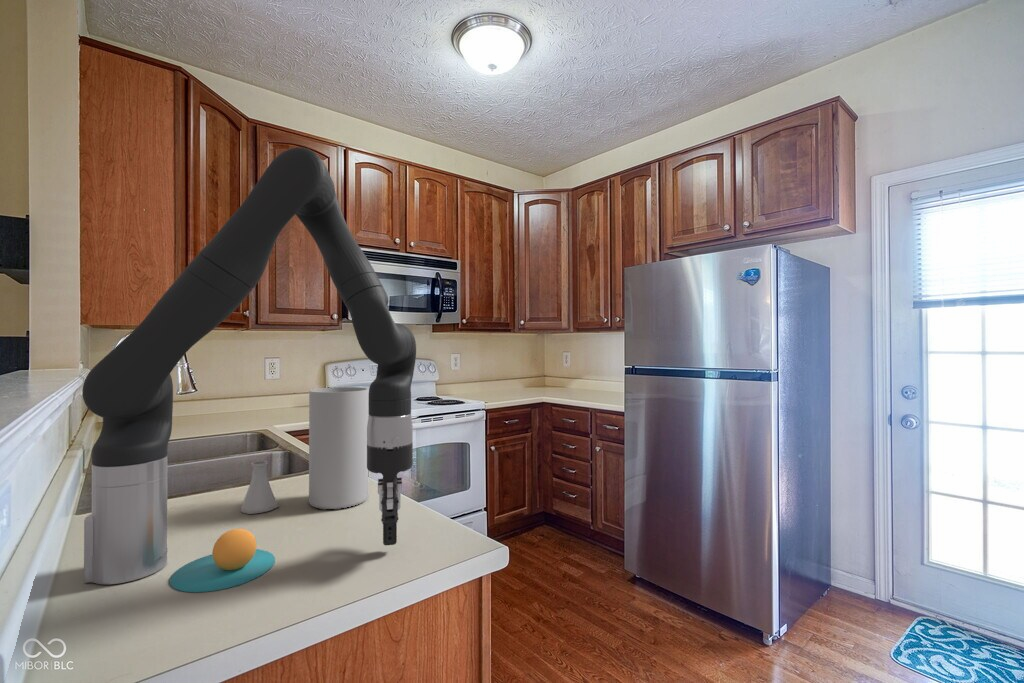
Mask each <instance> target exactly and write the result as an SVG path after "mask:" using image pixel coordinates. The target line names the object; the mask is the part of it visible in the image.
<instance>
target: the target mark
mask: <svg viewBox="0 0 1024 683" xmlns="http://www.w3.org/2000/svg"><path fill="white" fill-rule="evenodd" d="M275 560H276V558H275V555H274V553H273V554H272V552H269V550H268V551H267V550H264V549H260V548H259V549H257V548H256V552H255V554H254V556H253V558H252V559H251V560H250V562H249V563H247V564H246V565H245V566H243V567H241V568H239V569H236V570H224V569H222V568H220V567H218V566H217V565H216V563H215V562H214V560H213V556H212V554H208V555H205V556H202V557H200V558H197V559H195V560H193V561H190V562H188V563H186V564H184V565H182V566H181V567H179V568H178V569H177V570H175V571H174V573H173V574H172V575H171V576H170V578H169V584H170V586H171V588H173V589H174V590H176V591H180V592H185V593H208V592H214V591H215V592H217V591H220V590H221V591H222V590H226V589H229V588H230V589H231V588H233V587H237V586H239V585H243V584H246V583H248V582H251V581H253V580H256V579H257V578H259V577H261V576H262V575H264V574H266V573H267V572H268V571H270V569H272V567H273V566H274V565H275ZM273 564H274V565H273Z"/></svg>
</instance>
